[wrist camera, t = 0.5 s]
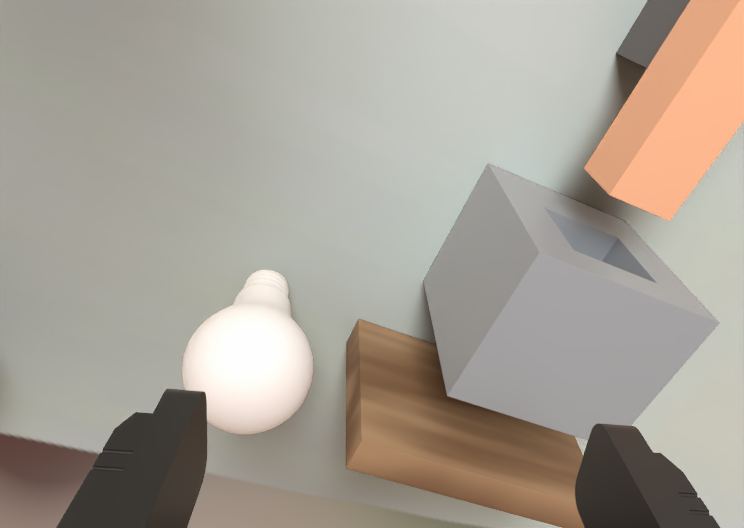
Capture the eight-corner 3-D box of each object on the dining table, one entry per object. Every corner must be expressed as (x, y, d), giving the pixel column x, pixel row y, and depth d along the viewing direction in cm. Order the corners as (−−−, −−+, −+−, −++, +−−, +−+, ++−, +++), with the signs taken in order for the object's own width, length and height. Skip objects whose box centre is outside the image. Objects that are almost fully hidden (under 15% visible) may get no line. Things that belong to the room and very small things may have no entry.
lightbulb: (341, 274, 35) (338, 404, 26) (280, 339, 37) (256, 481, 28) (255, 214, 33) (217, 332, 24) (196, 287, 35) (139, 422, 26)
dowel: (834, -227, 21) (907, -249, 18) (898, -181, 22) (979, -197, 19) (583, 168, 28) (609, 195, 25) (639, 192, 29) (669, 220, 26)
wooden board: (358, 318, 37) (361, 440, 28) (550, 383, 40) (607, 511, 31) (346, 342, 38) (345, 468, 29) (535, 404, 41) (585, 533, 32)
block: (488, 163, 32) (539, 252, 23) (625, 221, 34) (719, 322, 25) (423, 280, 36) (447, 395, 27) (551, 326, 38) (611, 447, 29)
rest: (693, -75, 27) (743, -75, 23) (742, -48, 27) (797, -43, 24) (616, 53, 29) (650, 70, 26) (662, 75, 30) (701, 95, 27)
